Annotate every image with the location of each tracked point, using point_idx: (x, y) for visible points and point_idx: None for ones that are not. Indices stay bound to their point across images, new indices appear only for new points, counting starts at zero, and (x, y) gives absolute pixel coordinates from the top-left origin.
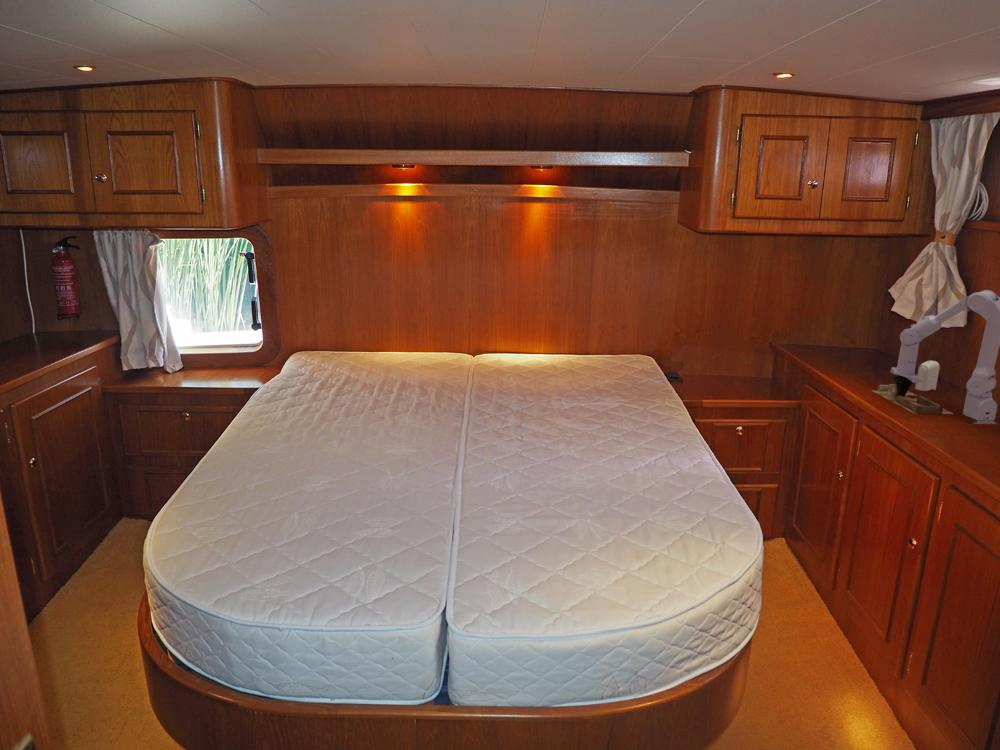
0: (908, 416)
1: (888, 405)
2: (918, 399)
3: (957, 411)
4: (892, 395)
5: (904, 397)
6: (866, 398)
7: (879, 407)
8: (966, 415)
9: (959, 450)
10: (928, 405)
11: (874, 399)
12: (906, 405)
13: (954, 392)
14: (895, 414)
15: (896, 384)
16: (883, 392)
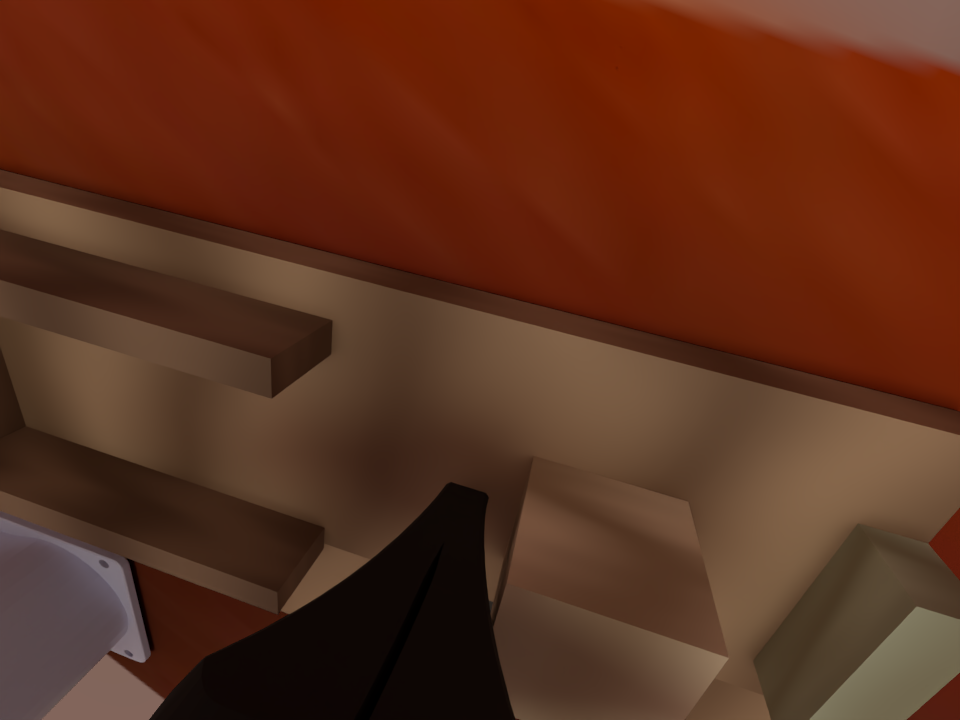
0: (11, 141)
1: (398, 234)
2: (281, 551)
3: (226, 635)
4: (563, 477)
5: (500, 561)
6: (805, 152)
7: (319, 2)
8: (16, 555)
9: None
10: (125, 486)
11: (698, 253)
12: (109, 272)
13: None
14: (42, 17)
15: (476, 636)
16: (789, 522)
